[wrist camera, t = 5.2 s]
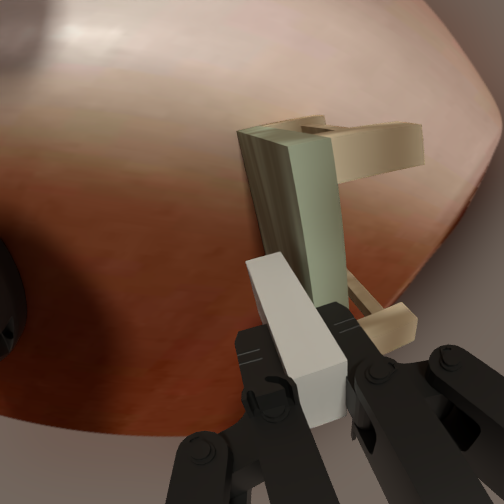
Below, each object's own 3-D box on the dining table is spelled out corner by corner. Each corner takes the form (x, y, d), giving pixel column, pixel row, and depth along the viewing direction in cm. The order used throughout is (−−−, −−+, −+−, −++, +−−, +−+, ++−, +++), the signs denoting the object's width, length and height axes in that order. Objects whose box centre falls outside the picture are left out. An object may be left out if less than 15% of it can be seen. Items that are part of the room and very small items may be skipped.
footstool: (270, 274, 24) (322, 379, 14) (236, 130, 19) (287, 146, 9) (335, 254, 24) (414, 340, 15) (314, 115, 19) (421, 124, 10)
